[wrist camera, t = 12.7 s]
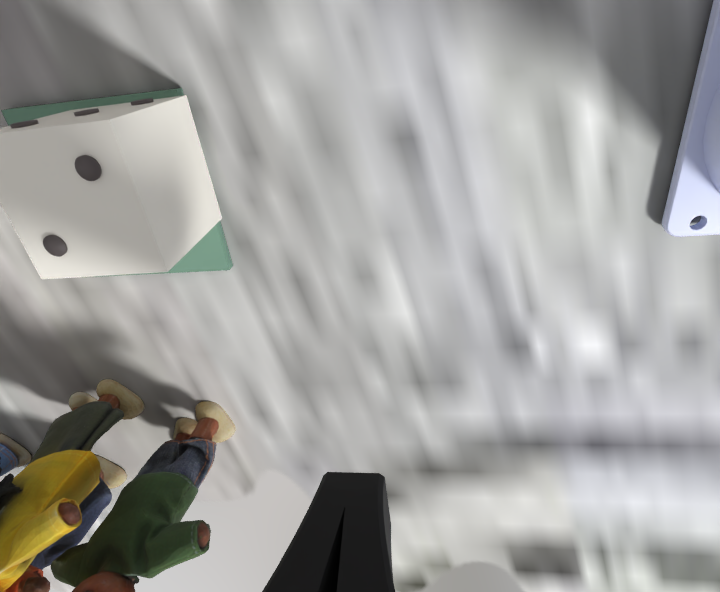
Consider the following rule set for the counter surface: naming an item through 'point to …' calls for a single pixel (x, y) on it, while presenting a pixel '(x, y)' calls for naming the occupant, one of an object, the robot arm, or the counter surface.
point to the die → (107, 188)
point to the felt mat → (213, 245)
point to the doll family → (103, 499)
